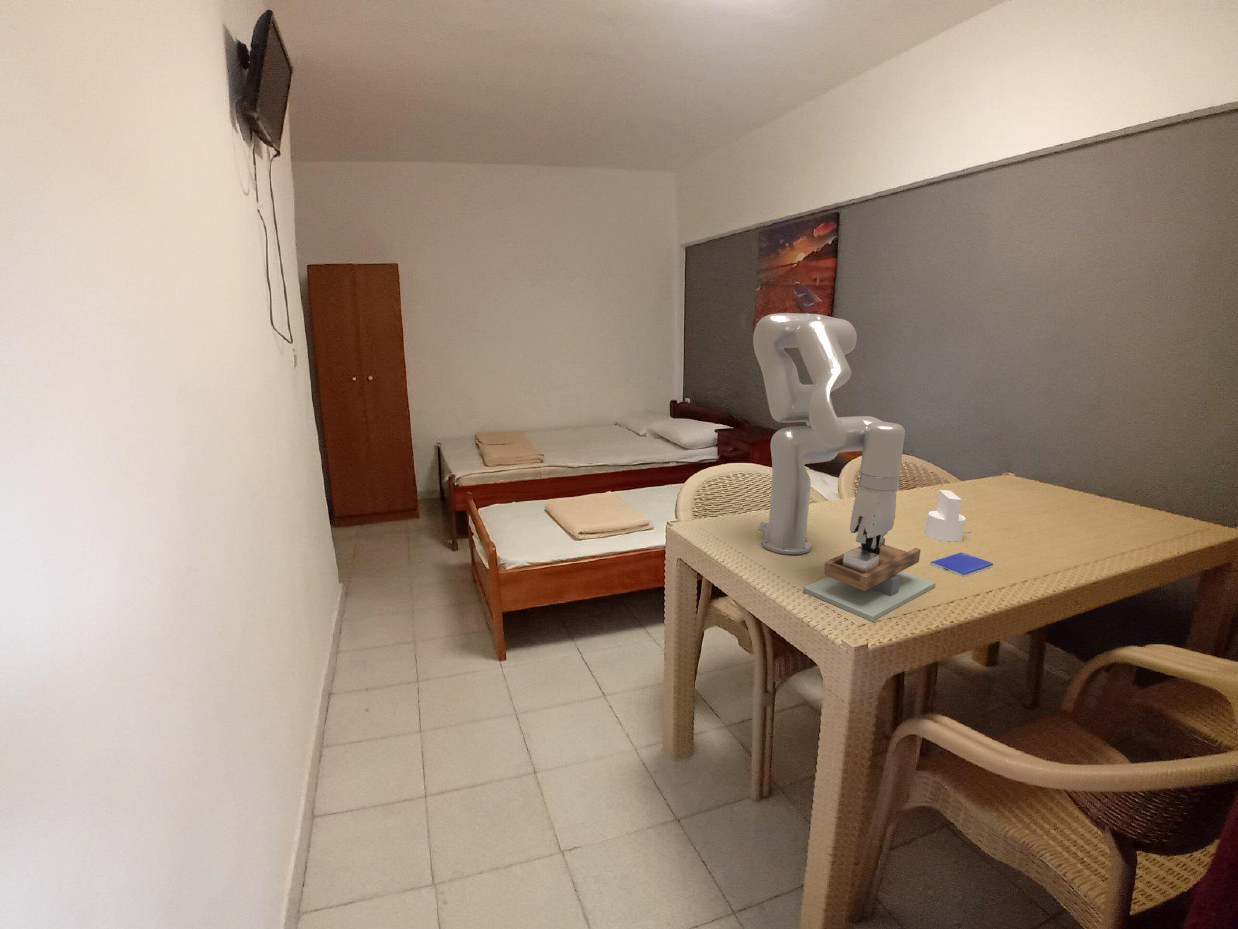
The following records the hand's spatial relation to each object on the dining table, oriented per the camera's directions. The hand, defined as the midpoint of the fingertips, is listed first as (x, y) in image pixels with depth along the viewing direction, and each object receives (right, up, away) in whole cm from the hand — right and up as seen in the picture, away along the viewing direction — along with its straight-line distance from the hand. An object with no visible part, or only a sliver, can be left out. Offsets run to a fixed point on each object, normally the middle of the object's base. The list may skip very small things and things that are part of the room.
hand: (869, 563), depth 127 cm
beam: (+1, -1, +2) cm, 3 cm away
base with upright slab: (+36, +1, +36) cm, 51 cm away
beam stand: (+1, -6, +3) cm, 7 cm away
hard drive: (+29, -4, +16) cm, 34 cm away
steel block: (-3, -1, -3) cm, 5 cm away
